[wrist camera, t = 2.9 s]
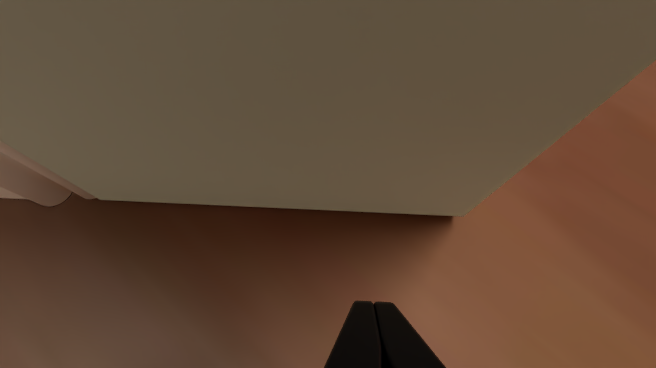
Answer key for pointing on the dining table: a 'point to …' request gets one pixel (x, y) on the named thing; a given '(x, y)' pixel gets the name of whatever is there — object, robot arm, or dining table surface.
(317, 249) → the dining table surface
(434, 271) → the dining table surface
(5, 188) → the fence fixed section
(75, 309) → the dining table surface
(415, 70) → the panel
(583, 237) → the dining table surface
